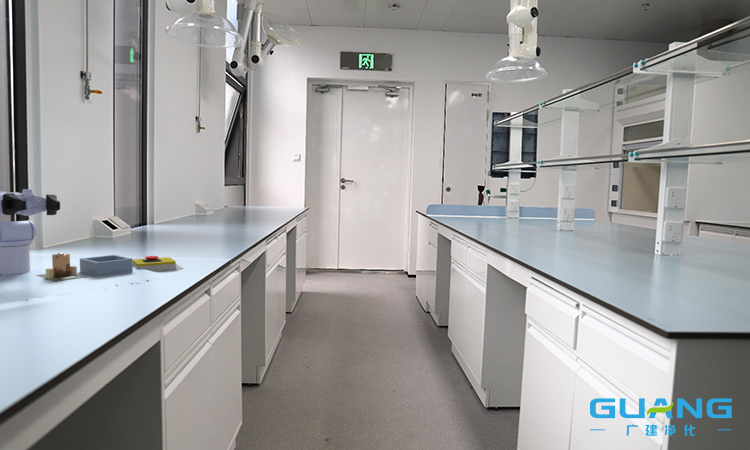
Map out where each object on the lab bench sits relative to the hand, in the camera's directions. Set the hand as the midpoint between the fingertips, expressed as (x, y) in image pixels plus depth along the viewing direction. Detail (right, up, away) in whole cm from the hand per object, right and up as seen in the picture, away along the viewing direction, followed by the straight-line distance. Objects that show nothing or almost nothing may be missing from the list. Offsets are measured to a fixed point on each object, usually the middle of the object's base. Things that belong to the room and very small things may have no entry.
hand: (41, 205), depth 121 cm
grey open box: (+7, -20, +17) cm, 27 cm away
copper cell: (-1, -19, +9) cm, 21 cm away
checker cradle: (-1, -20, +9) cm, 22 cm away
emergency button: (+15, -20, +29) cm, 39 cm away
